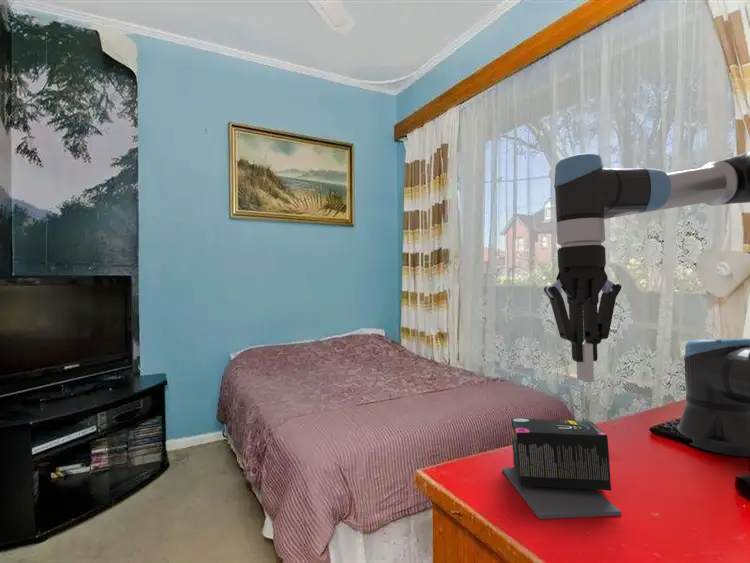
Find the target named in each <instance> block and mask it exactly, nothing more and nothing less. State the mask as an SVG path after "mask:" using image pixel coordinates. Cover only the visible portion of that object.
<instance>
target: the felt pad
mask: <svg viewBox="0 0 750 563" xmlns="http://www.w3.org/2000/svg"><path fill="white" fill-rule="evenodd" d="M501 470H502V473H503V474H504V475H505V477H506V478H507V479H508V480H509V482H510V483H511V484H512V486H513V487H514V488H515V489H516V491H517V493H518V494H519V495H520V496H521V497H522V498H523V500H524V501H525V502H526V504H527V505H528V507H529V508H530V509H531V510H532V511H533V513H534V514H535V515H536V517H537V518H538V519H539V520H545V519H546V520H548V519H567V518H568V519H569V518H572V519H573V518H590V517H612V516H613V517H614V516H618V517H619V516H622V511H621V510H620V509H619V508H618V507H617V506H615V504H613V503H612V502H611V501H610V500H609V499H607V498H606V497H605V496H604V495H603V494H602V493H601V492H600V491H599V490H593V489H576V488H561V487H544V486H526V485H519V482H518V478H517V474H516V471H515V467H514V466H513V467H502V468H501Z"/></svg>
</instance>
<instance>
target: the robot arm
mask: <svg viewBox="0 0 750 563" xmlns="http://www.w3.org/2000/svg"><path fill="white" fill-rule="evenodd" d="M604 165H605V164H604V163H603V159H602V156H601V155H599V154H596V153H593V152H592V153H591V152H590V153H586V152H585V153H579V154H573V155H568V156H566V157H564V158H562V159H561V160H559V161H557V163H556V165H555V168H554V169H555V171H554V185H553V188H554V192H555V193H554V194H555V195H554V196H555V216H556V244H557V245H558V246H560V247H559V248H558V250H557V251H556V252H557V255H556V256H557V267H558V268H557V269H558V274H557V276H556V281H555V282H553V283H552V284H551V285H547V286H546V285H545V287H544V288H543V292H544V293H545V294H546V296H547V297H548V299H549V301H550V304H551V308H552V312H553V315H554V318H555V323H556V326H557V330H558V335H559V336H560V339H562V340H565V341H569V342H570V344H571V359H572V360H573V362H576V378H577V380H580V381H582V382H584V383H594V382H595V371H594V370H595V369H594V362H598V359H599V358H598V345H599V344H601V342H602V340H607V339H608V338H609V335H610V331H611V327H612V319H613V315H614V310H615V305H616V300H617V297H618V296H619V294H620V292H621V290H622V289H623V288H622V285H621V284H620V283H614V282H613V281H611V280H610V279H609V278H608V274H607V273H606V270H605V268H606V266H607V265H606V264H607V262H606V261H607V260H606V258H607V257H606V256H607V255H606V253H607V252H606V246H605V245H604V244H602V243H604V242H605V241H606V230H605V229H606V228H605V227H606V226H605V220H606V219H612V218H618V217H623V216H630V215H638V214H642V213H643V214H644V213H649V212H655V211H660V210H668V209H674V208H680V207H685V206H687V207H688V206H693V205H699V204H705V205H706V206H707V205H708V206H713V207H714V206H720V205H729V204H747V203H750V150H749V151H748V150H747V151H745V152H743V153H741V154H737V155H735V156H731V157H729V158H725V159H721V160H715V161H711V162H708V163H707V164H704V165H703V166H702V167H700V168H695V169H687V170H681V171H675V172H674V171H673V172H669V173H667V172H665V171H664V170H662V169H658V168H657V169H656V168H648V167H642V168H640V167H639V168H608V167H604ZM601 291H602V293H601ZM563 292H564V293H565V295H566V300H567V301H566V302H567V304H568V311H567V308H566V303H565V301H564V300H565V299H564V298H563V296H562V293H563ZM600 293H601V296H599V295H600ZM599 297H600V299H599ZM598 304H599V306H598ZM684 348H685V351H684V356H683V359H684V377H685V378H684V380H685V381H684V382H685V406H684V409H683V412H682V415H681V417H680V421H679V422H678V423H677V428H676V429H678V431H679V432H680V433H681V434H683V435H684V436H686V437H688V438H691V439H692V441H693V442H692V443H689V444H688V445H691V446H692V447H695V448H697V449H701V450H705V451H708V452H711V453H717V454H720V455H721V454H722V455H727V456H733V457H735V456H736V457H745V458H748V457H749V458H750V338H746V337H745V338H742V337H741V338H739V337H738V338H734V337H733V338H732V337H731V338H730V337H729V338H728V337H727V338H698V339H697V338H696V339H695V338H694V339H691V340H689V341H687V342H686V344H685V347H684Z"/></svg>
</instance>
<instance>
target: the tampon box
mask: <svg viewBox="0 0 750 563" xmlns="http://www.w3.org/2000/svg"><path fill="white" fill-rule="evenodd" d="M511 433H512V435H511V436H512V437H511V439H512V440H511V442H512V443H511V444H512V455H513V458H512V459H513V461H512V462H513V467H515V471H516V474H517V478H518V482H519V485H526V486H544V487H561V488H576V489H593V490H597V491H607V492H608V491H610V492H611V491H612V483H611V468H610V452H609V450H610V449H609V440H608V439H609V438H608V434H606V432H604V431H603V430H602V429H600V427H599V426H597V424H596V423H594V422H592V421H591V420H565V419H564V420H562V419H541V418H538V419H537V418H517V417H512V418H511Z"/></svg>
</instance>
